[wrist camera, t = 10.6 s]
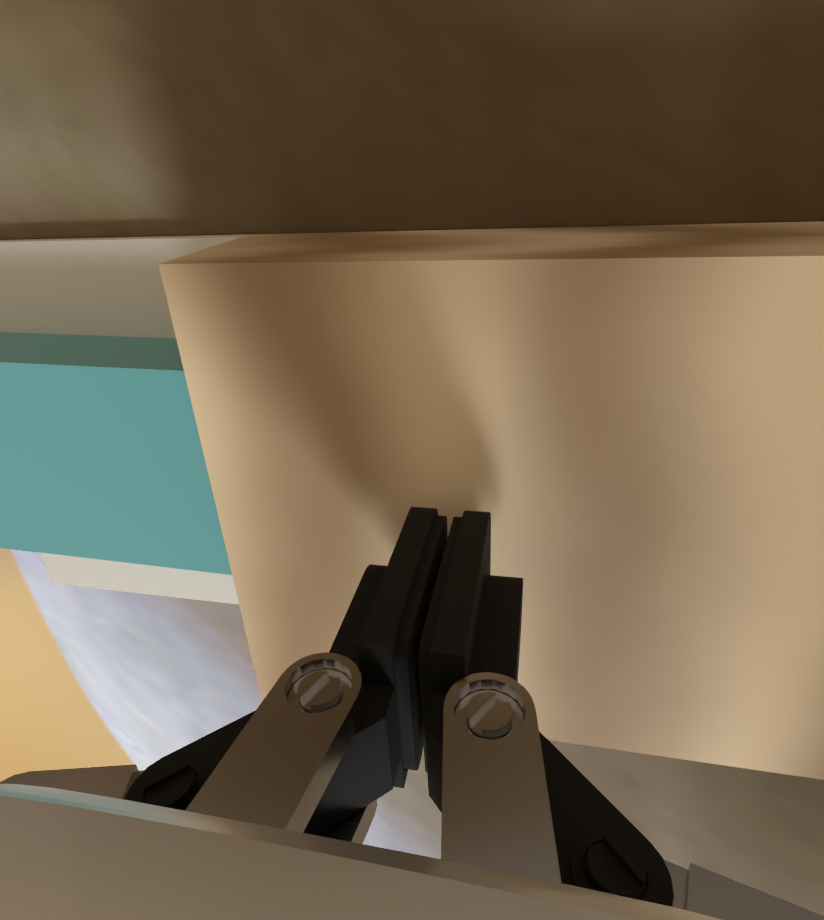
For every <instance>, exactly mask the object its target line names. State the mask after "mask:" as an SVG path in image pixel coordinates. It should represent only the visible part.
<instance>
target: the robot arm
mask: <svg viewBox="0 0 824 920" xmlns="http://www.w3.org/2000/svg"><path fill="white" fill-rule="evenodd" d="M490 564H491V513H490V512H481V511H467V510H465V511H464V513H463V516H462V517H453V520H452V524H451V528H450V531H449V535H448V530H447V517H446V516H440V515H438V510H437V508H423V507H411V508H410V510H409V512H408V515H407V517H406V520H405V522H404V525H403V527H402V530H401V532H400V535H399V537H398V540H397V543H396V545H395V548H394V550H393V553H392V555H391V558H390V560H389V563H388V566H383V565H372V564H370V565H369V566H367V568H366V570H365V572H364V574H363V576H362V578H361V581H360V583H359V585H358V587H357V590H356V592H355V594H354V597H353V599H352V601H351V603H350V606H349V608H348V610H347V612H346V615H345V617H344V619H343V622H342V624H341V626H340V628H339V631H338V633H337V635H336V637H335V640H334V642H333V644H332V647H331V649H330V651H329V653H328V652H324V653H316V654H312V655H309V656H306V657H303V658H301V659H299V660H298V661H296V662H295V663H293V664H291V665H290V666H289V667H288V668H287V669H286V670H285V671H284V672H283V674H282V675H281V676H280V677H279V679H278V680H277V682H276V683H275V685H274V686H273V687H272V689H271V690H270V692H269V693H268V694H267V696H266V697H265V699H264V700H263V701H262V703H261V704H260V706H259V707H258V709H257V710H256V711H254V712H252V713H250V714H248V715H246V716H244V717H242V718H240V719H238V720H236V721H234V722H232V723H230V724H228V725H226V726H224V727H222V728H220V729H218V730H216V731H214V732H212V733H210V734H208V735H206V736H205V737H203V738H201V739H199V740H197V741H195V742H193V743H191V744H189V745H187V746H185V747H183V748H181V749H179V750H177V751H175V752H173V753H171V754H169V755H167V756H165V757H163V758H161V759H160V760H158V761H157V762H155V763H154V764H152V765H150V766H149V767H148V768H147V769H146V770H145V771H138V769H137V766H136V765H122V766H107V767H92V768H76V769H61V770H46V771H31V772H26V773H21V774H17V775H13V776H12V777H10V778H7V779H6V780H3V781H1V782H0V920H824V916H822V915H819V914H817V913H814V912H812V911H809V910H807V909H804V908H802V907H799V906H797V905H794V904H792V903H789V902H787V901H784V900H782V899H779V898H777V897H774V896H772V895H769V894H767V893H764V892H762V891H759V890H757V889H754V888H752V887H749V886H747V885H744V884H742V883H739V882H737V881H734V880H732V879H729V878H727V877H724V876H722V875H719V874H717V873H715V872H712V871H710V870H707V869H705V868H702V867H700V866H697V865H695V864H692V863H690V865H689V869H685V868H683V867H680V866H678V865H675V864H673V863H670V862H668V861H665V860H663V858H662V857H661V855H660V854H659V853H658V852H657V850H656V849H655V848H654V846H653V845H652V844H651V843H650V842H649V841H648V840H647V839H646V838H645V837H644V836H643V835H642V834H641V833H640V832H639V831H638V830H637V829H636V828H635V827H634V826H633V825H632V824H631V823H630V822H629V821H628V820H627V819H626V818H625V817H624V816H623V815H622V814H621V813H620V812H619V811H618V810H617V809H616V808H615V807H614V806H613V805H612V804H611V803H610V802H609V801H608V800H607V799H606V798H605V797H604V796H603V795H602V794H601V793H600V792H599V791H598V790H597V789H596V788H595V787H594V786H593V785H592V784H591V783H590V782H589V781H588V780H587V779H586V778H585V777H584V776H583V775H582V774H581V773H580V772H579V771H578V770H577V769H576V768H575V767H574V766H573V765H572V764H571V763H570V762H569V761H568V760H567V759H566V758H565V757H564V756H563V755H562V754H561V753H560V752H559V751H558V750H557V748H556V747H555V746H554V745H553V744H552V743H551V742H550V741H549V740H548V739H547V738H546V737H545V736H544V735H543V734H542V733H541V732H540V731H539V728H538V721H537V715H536V708H535V705H534V702H533V699H532V697H531V695H530V694H529V693H528V691H527V690H526V689H525V687H524V686H522V685H521V684H520V683H518V669H519V654H520V639H521V621H522V600H523V578H516V577H505V576H494V575H490ZM423 746H424V756H425V769H426V772H428V788H429V796H430V797H431V798H432V800H433V801H434V803H435V804H436V805H437V807H438V808H439V810H440V811H441V812H442V836H441V859H436V858H431V857H426V856H420V855H415V854H410V853H405V852H400V851H395V850H389V849H384V848H379V847H374V846H369V845H363V844H362V843H363V841H364V839H365V836H366V834H367V832H368V829H369V827H370V825H371V822H372V820H373V818H374V815H375V811H376V807H377V799H378V798H379V797H381V796H382V795H384V794H386V793H387V792H389V791H390V790H392V789H393V786H394V787H400V788H404V785H405V780H406V776H407V772H408V769H410V770H418V768H419V764H420V760H421V755H422V751H423Z"/></svg>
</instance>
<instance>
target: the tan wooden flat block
mask: <svg viewBox="0 0 824 920" xmlns="http://www.w3.org/2000/svg"><path fill="white" fill-rule="evenodd" d="M159 268H160V272H161V276H162V281H163V285H164V289H165V293H166V298H167V302H168V306H169V310H170V314H171V319H172V323H173V327H174V331H175V336H176V340H177V344H178V348H179V352H180V357H181V361H182V365H183V369H184V374H185V378H186V382H187V386H188V390H189V395H190V399H191V403H192V407H193V412H194V416H195V420H196V424H197V428H198V433H199V437H200V441H201V445H202V450H203V454H204V458H205V462H206V466H207V471H208V475H209V479H210V483H211V488H212V492H213V496H214V500H215V504H216V509H217V513H218V517H219V521H220V526H221V530H222V534H223V538H224V542H225V547H226V551H227V555H228V559H229V564H230V568H231V572H232V576H233V580H234V585H235V589H236V593H237V597H238V602H239V606H240V610H241V614H242V618H243V623H244V627H245V631H246V635H247V640H248V644H249V648H250V652H251V656H252V661H253V665H254V669H255V673H256V678H257V682H258V686H259V690H260V694H261V698H264V699H265V697H266V696H267V694H268V693H269V692H270V690H271V689H272V687H273V686H274V685H275V683H276V682H277V680H278V679H279V677H280V676H281V675H282V674H283V672H284V671H285V670H286V669H287V668H288V667H289V666H290V665H291V664H293V663H295V662H296V661H298V660H299V659H301V658H303V657H306V656H309V655H312V654H316V653H324V652H328V653H329V651H330V649H331V647H332V644H333V642H334V640H335V637H336V635H337V633H338V631H339V628H340V626H341V624H342V622H343V619H344V617H345V615H346V612H347V610H348V608H349V606H350V603H351V601H352V599H353V597H354V594H355V592H356V590H357V587H358V585H359V583H360V581H361V578H362V576H363V574H364V572H365V570H366V568H367V566H369V565H370V564H372V565H383V566H388V563H389V560H390V558H391V555H392V553H393V550H394V548H395V545H396V543H397V540H398V537H399V535H400V532H401V530H402V527H403V525H404V522H405V520H406V517H407V515H408V512H409V510H410V508H411V507H423V508H437V510H438V515H440V516H446V517H447V530H448V535H449V531H450V528H451V524H452V520H453V517H462V516H463V513H464V511H465V510H467V511H481V512H490V513H491V564H490V575H494V576H505V577H516V578H523V600H522V621H521V639H520V654H519V669H518V683H520V684H521V685H522V686H524V687H525V689H526V690H527V691H528V693H529V694H530V695H531V697H532V699H533V702H534V705H535V708H536V715H537V721H538V728H539V731H540V732H541V733H542V734H543V735H544V736H545V737H546V738H547V739H548V740H553V741H560V742H567V743H573V744H580V745H587V746H594V747H601V748H608V749H615V750H622V751H629V752H635V753H642V754H649V755H656V756H663V757H670V758H677V759H684V760H691V761H697V762H704V763H711V764H718V765H725V766H732V767H739V768H746V769H753V770H759V771H766V772H773V773H780V774H787V775H794V776H801V777H808V778H814V779H821V780H824V221H816V222H772V223H728V224H684V225H640V226H596V227H552V228H508V229H464V230H421V231H377V232H333V233H289V234H249V235H246V236H243V237H240V238H237V239H234V240H231V241H228V242H225V243H222V244H218V245H215V246H212V247H209V248H206V249H203V250H200V251H197V252H194V253H191V254H188V255H185V256H182V257H179V258H176V259H172V260H169V261H166V262H163V263H160V264H159Z"/></svg>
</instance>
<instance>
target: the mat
mask: <svg viewBox="0 0 824 920" xmlns="http://www.w3.org/2000/svg"><path fill="white" fill-rule="evenodd" d="M246 235H249V234H245V235H201V236H157V237H113V238H69V239H25V240H0V332H12V333H40V334H68V335H95V336H123V337H150V338H176V336H175V331H174V327H173V323H172V319H171V314H170V310H169V306H168V302H167V298H166V293H165V289H164V285H163V281H162V276H161V272H160V268H159V264H160V263H163V262H166V261H169V260H172V259H176V258H179V257H182V256H185V255H188V254H191V253H194V252H197V251H200V250H203V249H206V248H209V247H212V246H215V245H218V244H222V243H225V242H228V241H231V240H234V239H237V238H240V237H243V236H246ZM40 555H41V557H42V559H43V562H44V564H45V567H46V569H47V571H48V574H49V576H50V579H51V581H52V583H53V584H62V585H71V586H80V587H89V588H97V589H106V590H115V591H124V592H133V593H142V594H151V595H160V596H169V597H178V598H187V599H196V600H204V601H213V602H222V603H231V604H239V602H238V597H237V593H236V589H235V585H234V580H233V576H232V575H227V574H219V573H210V572H202V571H193V570H185V569H176V568H168V567H159V566H151V565H142V564H134V563H125V562H117V561H108V560H100V559H91V558H83V557H74V556H66V555H57V554H49V553H40Z"/></svg>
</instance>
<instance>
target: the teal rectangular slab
mask: <svg viewBox="0 0 824 920" xmlns="http://www.w3.org/2000/svg"><path fill="white" fill-rule="evenodd" d="M0 548H6V549H15V550H23V551H32V552H40V553H49V554H57V555H66V556H74V557H83V558H91V559H100V560H108V561H117V562H125V563H134V564H142V565H151V566H159V567H168V568H176V569H185V570H193V571H202V572H210V573H219V574H227V575H232V572H231V568H230V564H229V559H228V555H227V551H226V547H225V542H224V538H223V534H222V530H221V526H220V521H219V517H218V513H217V509H216V504H215V500H214V496H213V492H212V488H211V483H210V479H209V475H208V471H207V466H206V462H205V458H204V454H203V450H202V445H201V441H200V437H199V433H198V428H197V424H196V420H195V416H194V412H193V407H192V403H191V399H190V395H189V390H188V386H187V382H186V378H185V374H184V369H183V365H182V361H181V357H180V352H179V348H178V344H177V340H176V338H150V337H123V336H95V335H68V334H40V333H12V332H0Z"/></svg>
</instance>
